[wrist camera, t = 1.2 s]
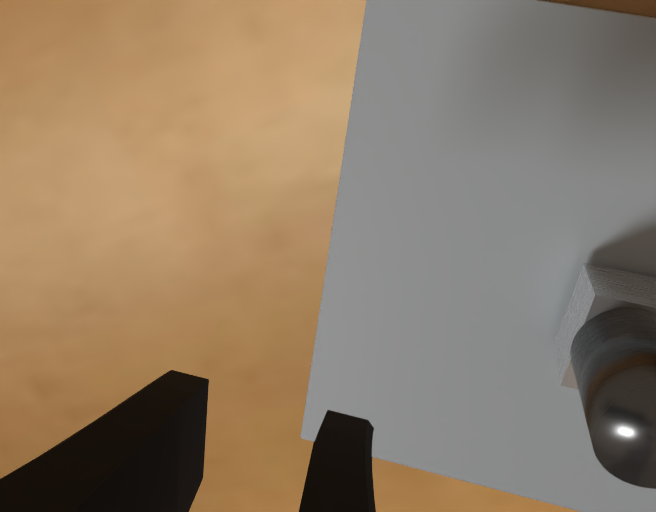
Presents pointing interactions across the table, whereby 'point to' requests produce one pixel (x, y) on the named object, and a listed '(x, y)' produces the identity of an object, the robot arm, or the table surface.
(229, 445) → the table surface
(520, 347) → the door panel
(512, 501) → the table surface
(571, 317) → the bolt
